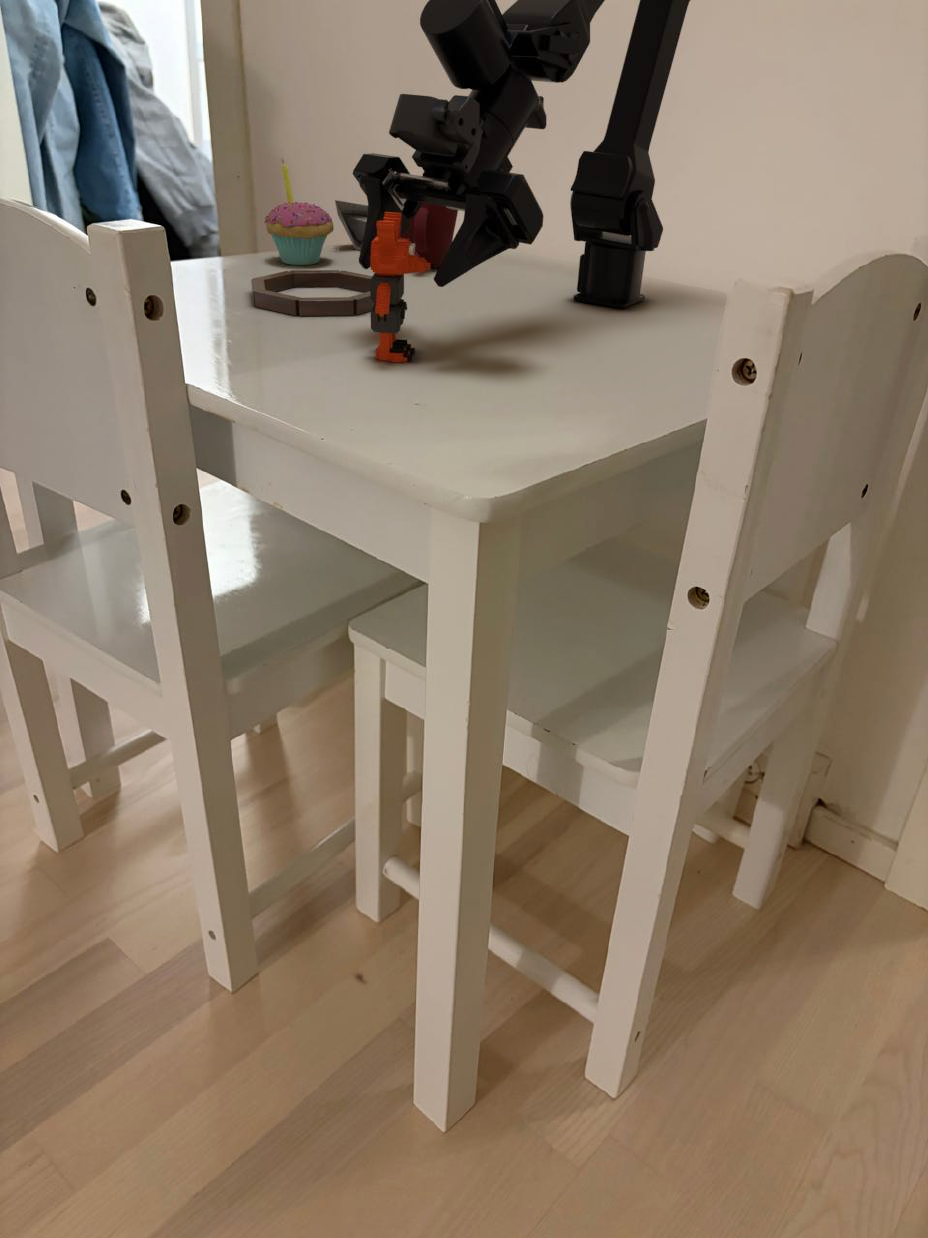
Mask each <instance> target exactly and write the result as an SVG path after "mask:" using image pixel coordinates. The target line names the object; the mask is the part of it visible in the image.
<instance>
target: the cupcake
mask: <svg viewBox="0 0 928 1238" xmlns="http://www.w3.org/2000/svg"><path fill="white" fill-rule="evenodd" d="M281 162H282V165H281V170H282V176H283V181H284V187H285V192H286V198H287V202H283V203H281V204H279V205H276V206H275V207H274V208H272V210H270V211H269V212H268V214H267V215H266V216H265V217H264V224H265V229H266V231H267V234H269V235H270V236H271V237H272V239H273V242H274V245H275V247H276V249H277V251H278V254H279V257H280V260H281V263H284V264H285V265H286V264H287V265H291V266H310V265H311V266H312V265H316V264H318V263H319V262H320V258H321V255H322V250H323V248H324V244H325V241H326V239H327V237H328V235H330V234H331V233H333V232H334V229H335V227H334V222H333V218H332V216H331V215H330V214H329V212H328V211H327V210H324V209H323V208H322V207H321V206H319V205H318V206H317V205H316V204H314V203H313V204H311V203H308V202H301V201H299V202H297V201H294V197H293V191H292V186H291V181H290V175H289V169H288V164H285V161H284V157H281Z"/></svg>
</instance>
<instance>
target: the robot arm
mask: <svg viewBox="0 0 928 1238" xmlns="http://www.w3.org/2000/svg"><path fill="white" fill-rule="evenodd" d="M605 1H606V0H516V1H515V2H514V3H513V4H512V5H511V6H510V7H508V8H507V9H506V10H505V11H504V12H503V13H502V12H501V9H500V8H499V5H498V3H497V1H496V0H428V1H427V2H426V3H425V5H424V7H423V8H422V11H421V14H420V18H419V26H420V28H421V30H422V31H423V34H424V35H425V37H426V39H427V41H428V43H429V44H430V46H431V48H432V50H433V52H434V54H435V56H436V58H437V59H438V61H439V63H440V65H441V67H442V68H443V70H444V72H445V74H446V75H447V78H448V79H449V81H450V83H451V85H453V86H454V87H455V88H458V89H460V90H471V91H470V92H469V94H468V95H458V94H454V95H452V97H451V98H450V100H448V99H441V98H437V97H434V96H432V95H421V94H409V93H400V94H399V97H398V100H397V103H396V106H395V110H394V112H393V116H392V120H391V124H390V127H389V129H388V134H389V135H390V136H391V137H392V138H393V139H399V140H400V141H402V142H404V143H405V144H406V145H408V146H409V147H411V148H412V149H414V150H415V151H414V152H413V154H412V155H411V159H412V160H413V162H414V163H415V165H416V166H417V167H418V168H421V169H422V170H423V172H422V175H417V174H411V172H410V170H409V169H408V168H407V166H406V165H405V164H404V163H405V162H403V160H402V159H401V158H400V156H397V155H396V156H395V155H388V154H382V153H374V152H372V153H363V154H362V155H361V157H360V158H359V160H358V161H357V163H356V165H355V166H354V168H353V171H352V175H353V177H354V178H355V179H356V182H357V183H358V185H359V187H360V189H361V190H362V192H363V193H364V194H365V195H366V200H367V206H368V213H367V221H366V227H365V231H364V236H363V241H362V246H361V250H359V251H360V252H359V257H358V264H359V265H360V266H361V268H362V269H363V270H369V269H371V245H372V241H373V240H374V239H375V238H376V237H378V235H377V226H376V224H377V221H383V220H384V215H385V212H396V213H401V215H402V219H401V233H400V237H401V236H402V235H403V234H404V233H405V232H406V231H407V230H408V229H409V228H410V227H411V224H410V222H409V221H408V219H410V218H412V217H414V216H415V215H416V214H417V213H418V211H419V209H420V208H421V203H422V202H425V203H431V204H437V205H443V206H445V207H447V208H448V209H454V210H458V211H460V212H464V213H463V220H462V223H461V225H460V227H459V228H458V231H457V232H456V234H455V236H454V237H453V240H452V243H451V245H450V247H449V248H448V250H447V252H446V254H445V256H444V257H443V259H442V261H441V263H440V265H439V267H438V268H437V270H436V272H435V274H434V276H433V281H434V283H435V285H436V286H437V287H440V288H443V287H445V286H447V285H449V284H450V283H452V282H453V281H455V280H456V279H458V278H460V277H461V276H463V275H464V274H466V273H468V272H469V271H471V270H473V269H474V268H476V267H478V266H479V265H481V264H483V263H485V262H486V261H488V260H490V259H492V258H494V257H496V256H498V255H500V254H501V253H503V252H506V251H507V250H510V249H511V250H516V249H517V248H518V247H519V245H520V243H521V244H526V245H530V246H531V245H532V244H533V243H534V242H535V240H536V238H537V237H538V235H539V234H540V231H541V229H543V226H544V212H543V210H542V208H541V206H540V204H539V202H538V200H537V198H536V196H535V194H534V192H533V190H532V188H531V187H530V185H529V183H528V181H527V179H526V177H525V174H523V173H522V174H521V173H515V172H511V171H512V169H513V167H514V166H513V163H512V162H511V160H510V159H509V156H510V154H511V152H512V151H513V149H514V147H515V146H516V143H517V142H518V140H519V139H520V137H521V135H522V134H523V132H524V131H525V129H535V130H545V129H546V128H547V113H546V111H545V105H544V103H545V102H544V101H545V98H544V97H543V96H542V95H539V93H538V92H537V90H536V88H535V85H534V82H540V83H541V82H542V83H543V82H544V83H555V84H559V83H561V84H562V83H565V82H567V81H568V80H569V79H570V78H571V77H572V76H574V73H575V71H576V70H577V68H578V67H579V64H580V63H581V60H582V59H583V57H584V55H585V53H586V51H587V49H588V47H589V45H590V44H591V22H592V20H593V19H594V18H595V15H596V13H597V12H598V11H599V9H600V8H601V7H602V5H603V4H604V3H605ZM690 1H691V0H639V3H638V6H637V11H636V14H635V17H634V22H633V26H632V29H631V32H630V36H629V37H630V38H629V42H628V45H627V49H626V53H625V55H624V61H623V64H622V69H621V72H620V75H619V79H618V84H617V87H616V91H615V95H614V99H613V103H612V106H611V111H610V115H609V118H608V123H607V127H606V130H605V133H604V136H603V137H604V138H603V139H602V141H601V142H600V143H599V144H598V145H597V146H596V147H595V149H594V150H593V151H592V150H591V151H590V150H583V151H582V153H581V155H580V157H579V159H578V163H577V170H576V174H575V176H574V179H573V180H574V181H573V182H572V185H571V186H570V191H571V196H570V203H569V204H570V207H569V208H570V215H571V224H572V232H573V240H574V241H575V242H584V251H583V253H582V254H581V255H580V256H579V262H578V263H579V264H578V272H577V273H578V274H577V284H576V291H577V293H576V294H573V297H572V299H573V300H574V301H579V302H583V303H590V304H595V305H602V306H606V307H611V308H616V309H617V308H618V309H626V308H629V307H630V306H632V305H635V304H637V303H640V302H642V301H644V300H646V296H647V295H646V294H643V293H641V291H642V283H643V275H644V267H645V259H646V252H653V251H655V249H658V247H659V245H660V242H661V239H662V235H663V232H664V226H663V224H662V221H661V219H660V217H659V216H660V215H659V213H658V211H657V209H656V206H655V203H654V201H653V195H654V190H655V184H656V178H655V174H654V170H653V166H652V162H651V157H650V153H649V152H650V146H651V143H652V140H653V135H654V132H655V128H656V125H657V120H658V117H659V114H660V109H661V106H662V102H663V98H664V95H665V92H666V91H665V90H666V87H667V84H668V80H669V76H670V73H671V70H672V66H673V62H674V58H675V55H676V51H677V48H678V43H679V40H680V37H681V32H682V28H683V25H684V21H685V19H686V14H687V11H688V7H689V5H690Z"/></svg>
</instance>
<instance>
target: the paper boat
mask: <svg viewBox="0 0 928 1238" xmlns="http://www.w3.org/2000/svg"><path fill="white" fill-rule="evenodd" d="M334 203H335V208H336V213H337V216H338V219H339V220H340V222H341V225H342V226H343V228H344V230H345V232H346V234H347V236H348V238H349V240H350V242H351V244H352V246H353V248H354V249H355V250H356V251H361V246H362V241H363V236H364V231H365V227H366V221H367V213H368V204H362V203H361V204H360V203H354V202H348V201H342V200H336V199H335V200H334Z"/></svg>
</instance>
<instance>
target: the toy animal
mask: <svg viewBox="0 0 928 1238" xmlns="http://www.w3.org/2000/svg"><path fill="white" fill-rule="evenodd" d="M401 219H402V215H401V213H396V212H385V215H384V220H383V221H377V224H376V226H377V235H378V237H376V238H375V239H374V240H373V241H372V245H371V267H370V271H372V273H373V275H371V276H372V278H371V281H370V299H371V300H372V301H373V303H374V305H373V306H372V308H371V311H370V330H372V332H373V333H378V337H379V338H378V346H377V347H376V348H375V360H379V361H388V362H389V361H390V362H392V363H405V362H406V363H407V362H408V363H411V362H412V360H413V356H415V353H416V348H415V347H412V343H408V339H399V338H398V339H397V337H396V335H397V334H398V332H400V331H401V327H402V326H403V324H404V320H405V319H406V311H407V310H408V303H407V301H405V299H403V296H404V294H405V275H409V274H419V273H425V271H431V270H432V269H431V268H435V263H427V260H425V258H421V257H419V254H417V252H415V243H411V241H409V239H404V238H400V233H401ZM435 269H436V268H435Z"/></svg>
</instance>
